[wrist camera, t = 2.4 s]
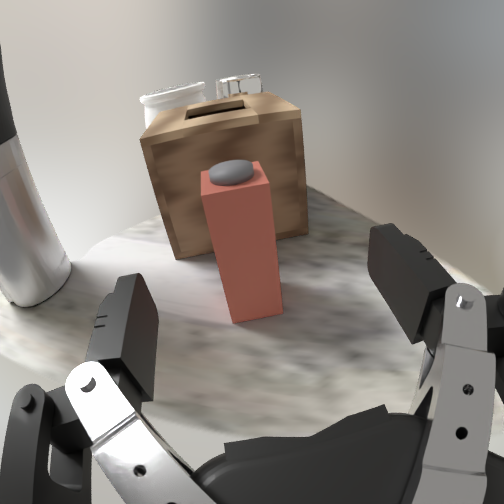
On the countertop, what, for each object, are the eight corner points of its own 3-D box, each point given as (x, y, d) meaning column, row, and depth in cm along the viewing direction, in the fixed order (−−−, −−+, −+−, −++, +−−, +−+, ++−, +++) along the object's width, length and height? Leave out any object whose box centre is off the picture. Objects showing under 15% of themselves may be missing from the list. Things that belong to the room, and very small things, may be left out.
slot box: (175, 259, 32) (139, 139, 25) (181, 200, 44) (159, 111, 36) (308, 233, 33) (300, 109, 25) (279, 181, 44) (268, 91, 36)
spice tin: (232, 323, 24) (198, 186, 18) (228, 289, 28) (199, 163, 21) (283, 313, 25) (268, 173, 18) (273, 280, 28) (257, 152, 21)
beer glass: (279, 170, 48) (268, 74, 39) (236, 181, 46) (220, 82, 37) (263, 157, 53) (252, 73, 44) (224, 167, 52) (209, 80, 43)
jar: (151, 178, 53) (131, 98, 44) (201, 158, 58) (186, 82, 49) (175, 193, 46) (152, 96, 37) (232, 170, 50) (217, 80, 41)
